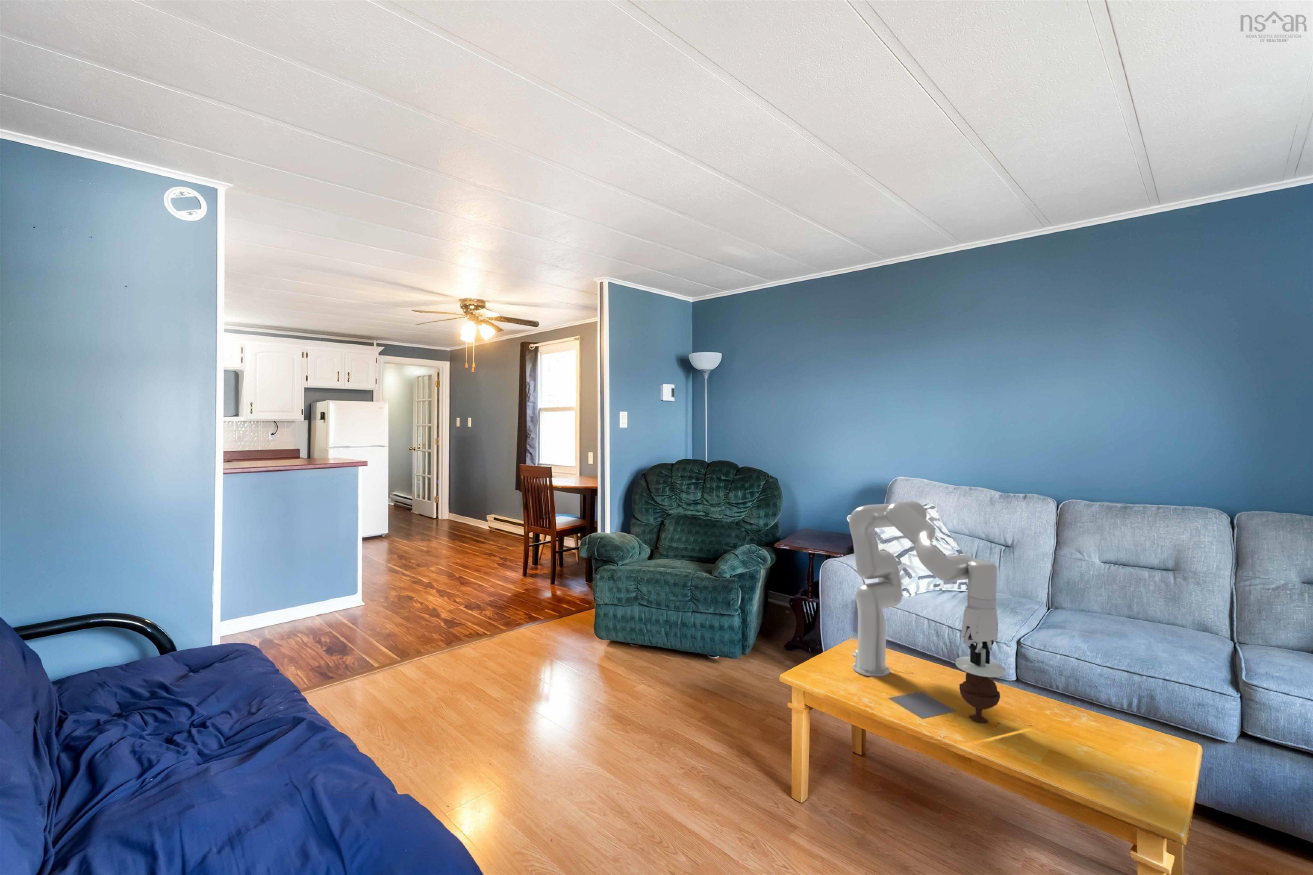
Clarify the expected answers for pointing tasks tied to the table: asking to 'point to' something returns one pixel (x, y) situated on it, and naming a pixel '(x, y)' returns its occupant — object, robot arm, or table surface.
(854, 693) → the table surface
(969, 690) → the ice cream bowl
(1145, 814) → the table surface
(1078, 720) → the table surface
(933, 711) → the mat
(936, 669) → the table surface
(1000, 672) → the lid
